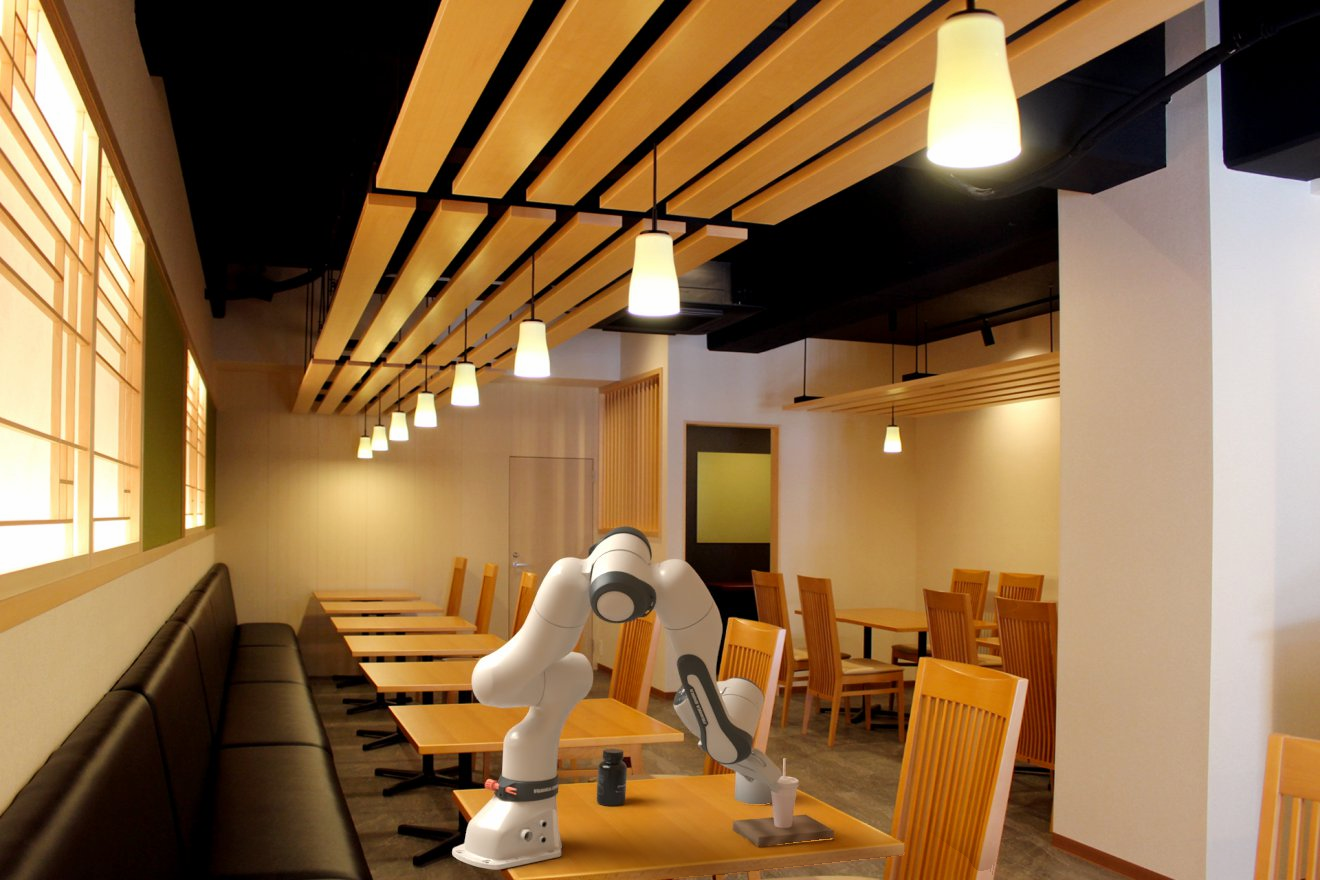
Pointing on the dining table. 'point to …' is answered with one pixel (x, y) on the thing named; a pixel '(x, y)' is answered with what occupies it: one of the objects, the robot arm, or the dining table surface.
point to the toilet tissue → (751, 791)
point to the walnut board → (782, 830)
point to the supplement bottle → (611, 778)
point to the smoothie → (784, 800)
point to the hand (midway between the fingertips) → (764, 784)
